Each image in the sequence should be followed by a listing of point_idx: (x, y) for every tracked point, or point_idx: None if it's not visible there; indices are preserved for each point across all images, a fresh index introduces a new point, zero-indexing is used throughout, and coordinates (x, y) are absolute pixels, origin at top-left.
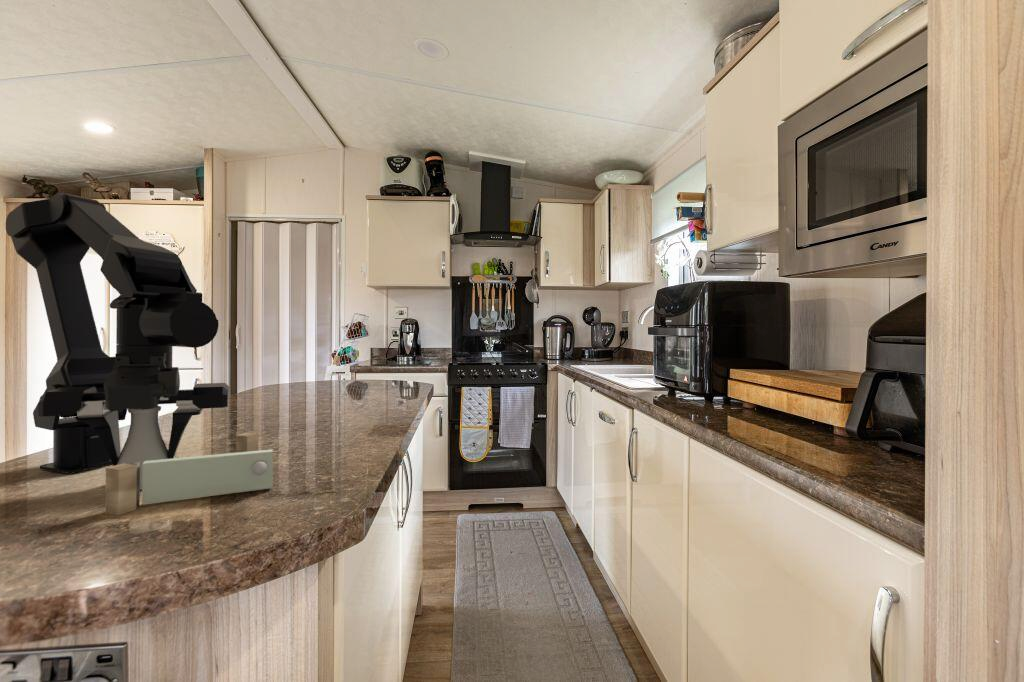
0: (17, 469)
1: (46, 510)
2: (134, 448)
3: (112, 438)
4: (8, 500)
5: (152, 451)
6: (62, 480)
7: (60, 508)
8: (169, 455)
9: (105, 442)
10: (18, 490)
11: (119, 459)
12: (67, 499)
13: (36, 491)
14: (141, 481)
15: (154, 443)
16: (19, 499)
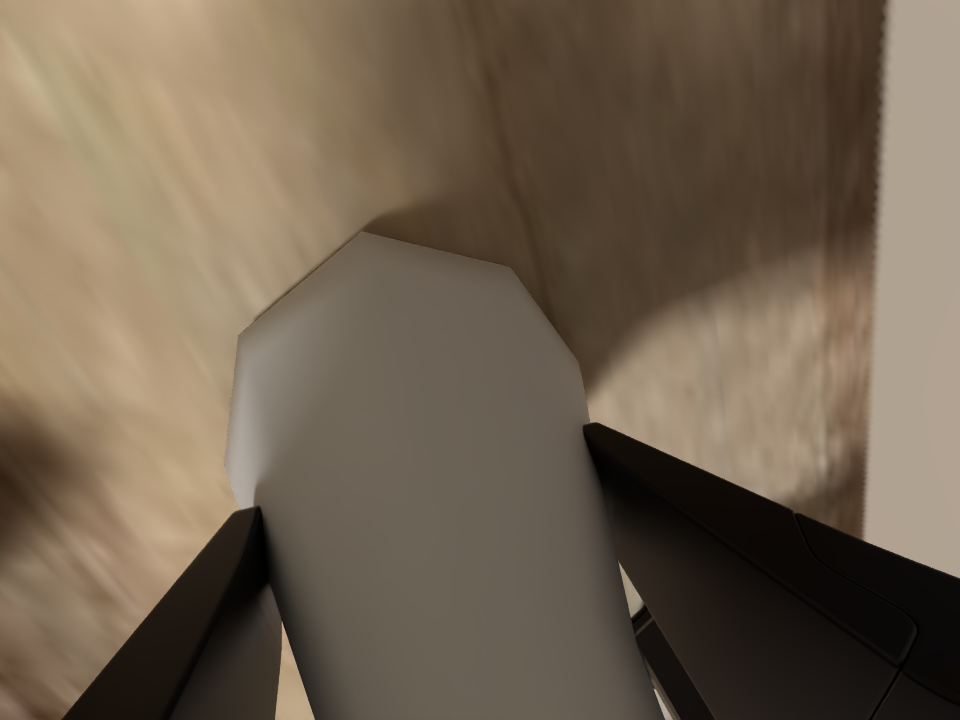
0: None
1: (758, 15)
2: (511, 496)
3: (767, 567)
4: (876, 264)
5: (345, 502)
6: (737, 481)
7: (704, 26)
8: (237, 538)
9: (786, 519)
10: (847, 387)
11: (586, 455)
12: (693, 203)
13: (801, 362)
14: (367, 268)
15: (343, 598)
16: (847, 267)
